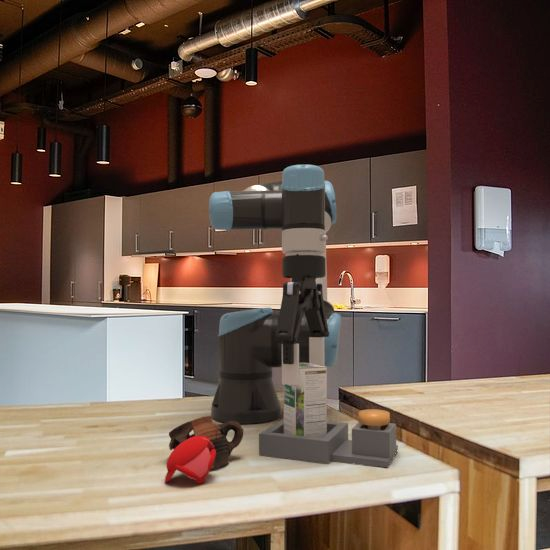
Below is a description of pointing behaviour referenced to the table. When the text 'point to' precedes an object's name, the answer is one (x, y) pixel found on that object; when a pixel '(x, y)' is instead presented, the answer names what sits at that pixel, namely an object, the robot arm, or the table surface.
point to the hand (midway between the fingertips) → (304, 378)
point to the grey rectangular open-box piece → (332, 444)
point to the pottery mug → (209, 436)
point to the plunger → (374, 418)
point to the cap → (192, 459)
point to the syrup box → (307, 402)
